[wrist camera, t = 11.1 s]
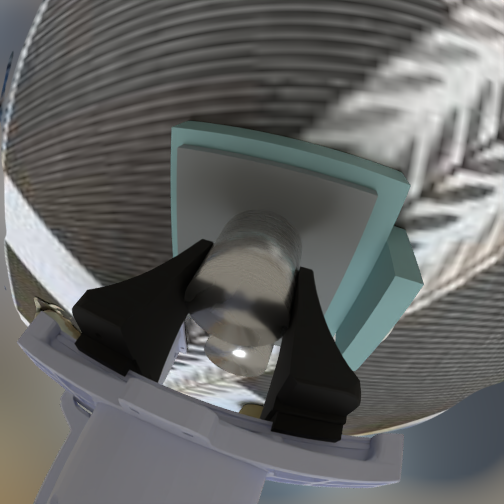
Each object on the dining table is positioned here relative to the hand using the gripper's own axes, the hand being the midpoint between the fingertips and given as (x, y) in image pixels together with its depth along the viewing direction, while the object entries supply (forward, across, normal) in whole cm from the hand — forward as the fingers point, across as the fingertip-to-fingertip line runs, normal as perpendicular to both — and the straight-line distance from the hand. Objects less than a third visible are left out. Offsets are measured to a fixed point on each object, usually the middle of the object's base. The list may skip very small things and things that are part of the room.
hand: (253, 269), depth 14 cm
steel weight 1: (+2, 0, 0) cm, 2 cm away
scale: (+7, -1, +4) cm, 8 cm away
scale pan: (+5, 0, +4) cm, 6 cm away
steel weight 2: (+4, 0, +8) cm, 9 cm away
